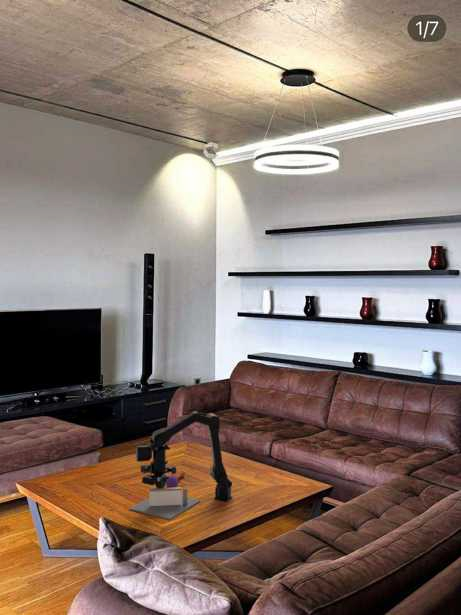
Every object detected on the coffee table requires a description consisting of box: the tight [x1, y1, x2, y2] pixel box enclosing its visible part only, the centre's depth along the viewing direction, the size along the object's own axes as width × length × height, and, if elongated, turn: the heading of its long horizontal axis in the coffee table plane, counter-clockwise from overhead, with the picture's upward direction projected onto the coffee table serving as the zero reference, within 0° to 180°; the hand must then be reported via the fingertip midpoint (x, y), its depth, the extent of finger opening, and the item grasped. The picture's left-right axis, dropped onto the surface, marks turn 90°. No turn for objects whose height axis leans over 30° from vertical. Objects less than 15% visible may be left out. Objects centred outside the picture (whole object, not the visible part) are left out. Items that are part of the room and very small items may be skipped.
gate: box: [148, 486, 182, 506], centre depth 264 cm, size 14×2×7 cm, turn 99°
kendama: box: [165, 469, 186, 488], centre depth 295 cm, size 6×6×20 cm
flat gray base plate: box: [128, 487, 201, 521], centre depth 265 cm, size 22×24×8 cm
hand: (159, 493), depth 266 cm, fingers closed
